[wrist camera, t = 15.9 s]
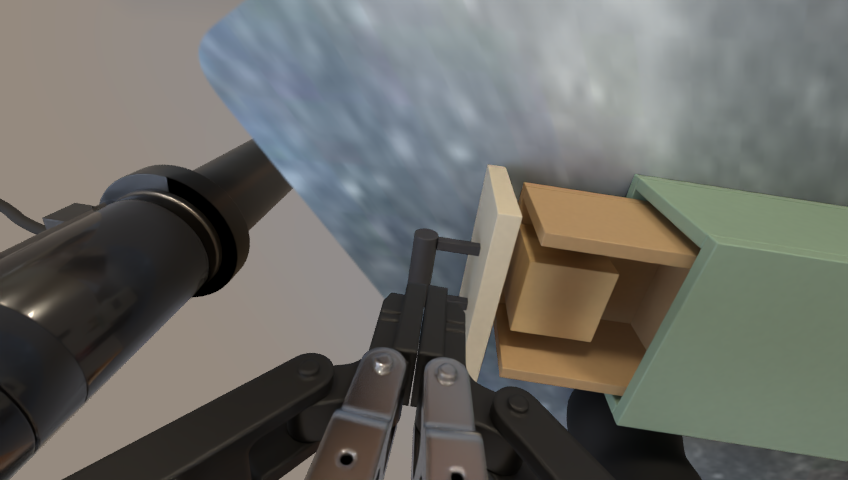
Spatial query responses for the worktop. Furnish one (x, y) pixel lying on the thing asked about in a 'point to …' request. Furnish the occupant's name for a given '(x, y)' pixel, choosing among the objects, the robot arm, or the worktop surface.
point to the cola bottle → (625, 443)
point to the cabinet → (749, 324)
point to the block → (556, 289)
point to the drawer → (577, 231)
